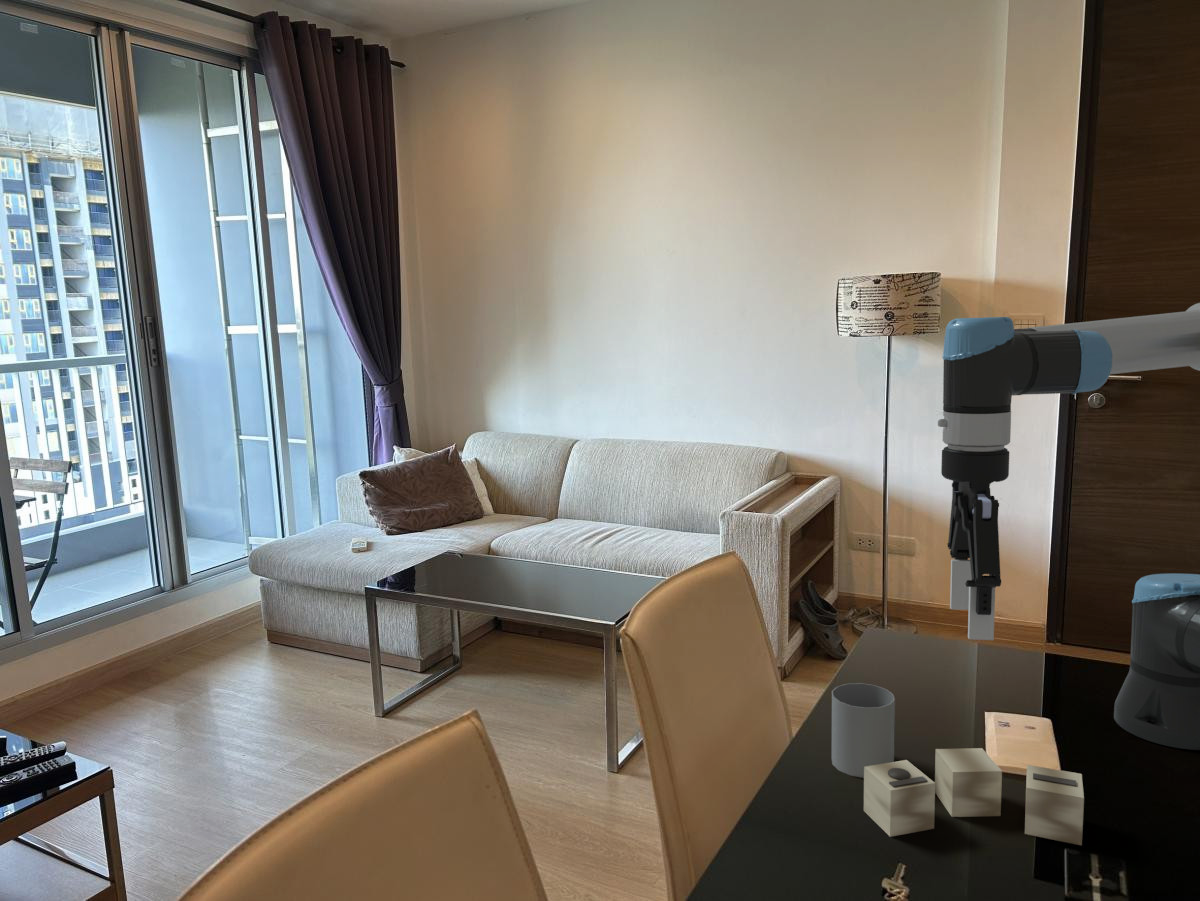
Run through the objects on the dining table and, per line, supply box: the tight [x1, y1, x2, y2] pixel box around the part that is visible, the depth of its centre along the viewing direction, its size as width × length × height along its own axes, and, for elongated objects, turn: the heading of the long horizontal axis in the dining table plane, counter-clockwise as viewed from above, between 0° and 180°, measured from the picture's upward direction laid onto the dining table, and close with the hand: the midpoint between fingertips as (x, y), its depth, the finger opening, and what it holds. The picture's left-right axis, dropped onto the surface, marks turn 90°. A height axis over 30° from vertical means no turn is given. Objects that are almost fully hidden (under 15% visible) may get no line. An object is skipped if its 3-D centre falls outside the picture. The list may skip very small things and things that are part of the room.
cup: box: [831, 682, 896, 779], centre depth 123 cm, size 8×8×10 cm
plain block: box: [934, 747, 1003, 818], centre depth 112 cm, size 6×6×6 cm
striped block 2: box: [1024, 764, 1085, 846], centre depth 106 cm, size 6×6×6 cm
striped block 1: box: [863, 759, 936, 838], centre depth 109 cm, size 6×6×6 cm
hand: (970, 623), depth 109 cm, fingers open, 10 cm apart
